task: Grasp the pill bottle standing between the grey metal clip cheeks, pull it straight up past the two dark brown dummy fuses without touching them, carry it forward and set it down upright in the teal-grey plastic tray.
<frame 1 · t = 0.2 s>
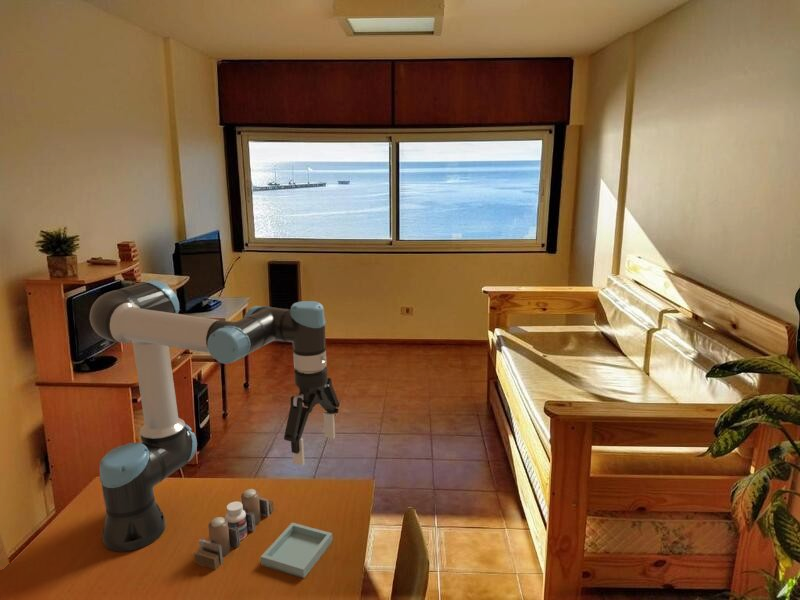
hand: (314, 449, 139), 27 cm above the table, fingers open, 13 cm apart
clip rail: (237, 535, 151), on the table
pill bottle: (237, 536, 151), on the table
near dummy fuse: (221, 551, 145), on the table
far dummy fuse: (252, 520, 157), on the table
tray: (298, 553, 144), on the table
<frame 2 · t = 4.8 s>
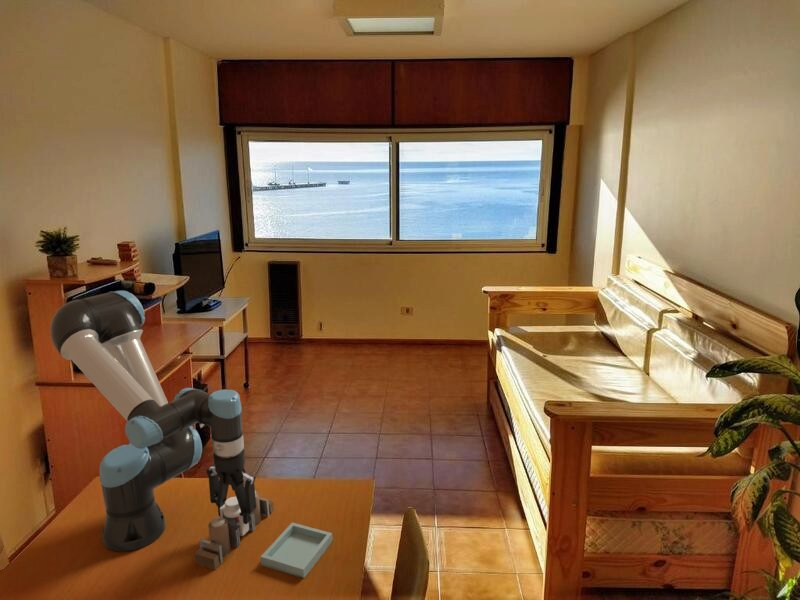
hand: (235, 529, 151), 2 cm above the table, fingers closed on pill bottle, 5 cm apart
pill bottle: (235, 531, 151), point 1 cm above the table, touching gripper
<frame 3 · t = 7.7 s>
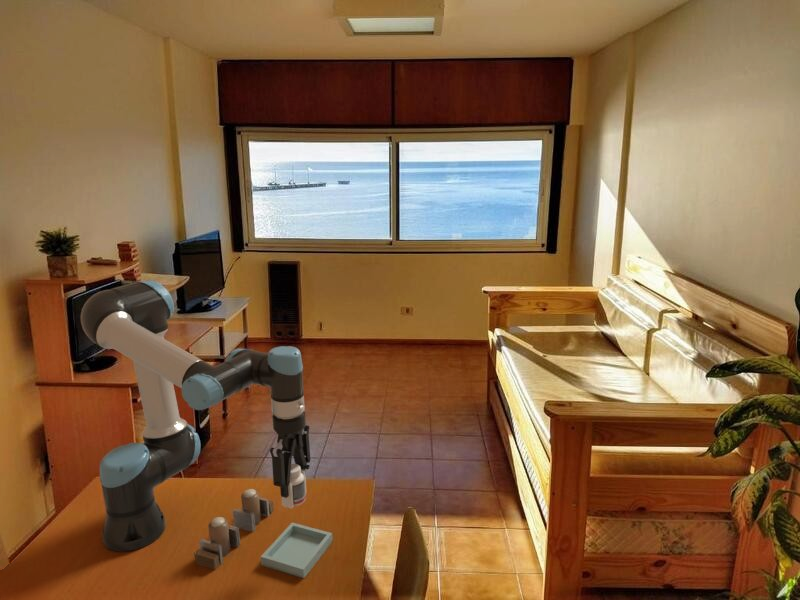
hand: (294, 499, 140), 15 cm above the table, fingers closed on pill bottle, 5 cm apart
pill bottle: (294, 501, 140), point 15 cm above the table, touching gripper
when the fingers open (2 cm above the table, at t = 10.6 s): pill bottle drops 1 cm, resting on tray.
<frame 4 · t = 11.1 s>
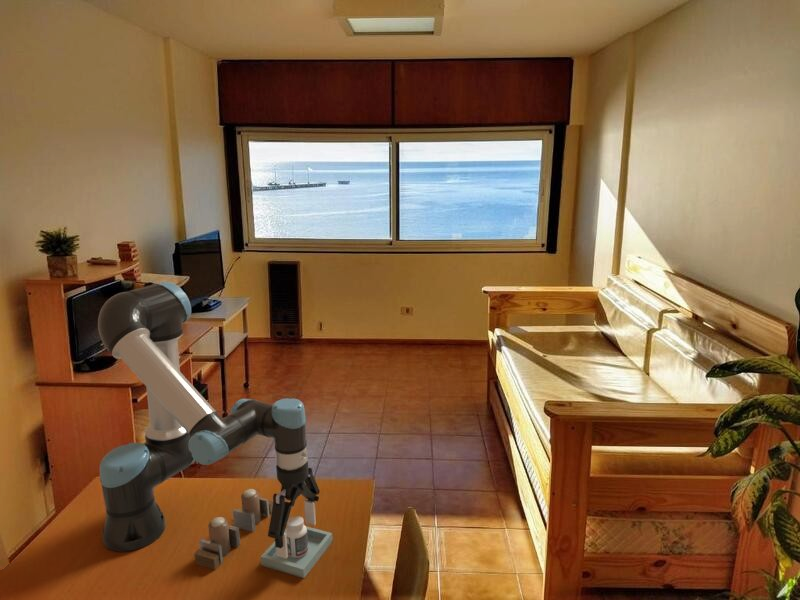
hand: (297, 539, 143), 4 cm above the table, fingers open, 12 cm apart
pill bottle: (297, 552, 144), resting on tray
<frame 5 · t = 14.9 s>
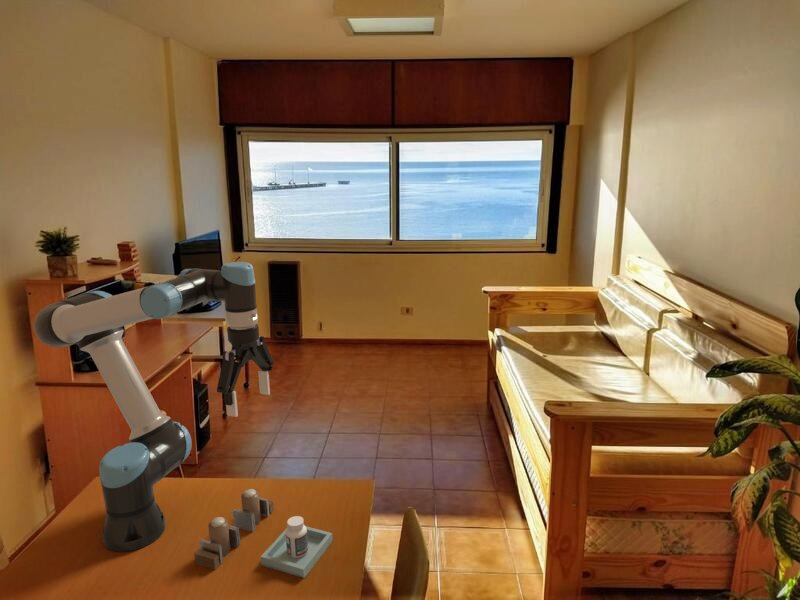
hand: (249, 404, 148), 35 cm above the table, fingers open, 13 cm apart
nothing on the table moved.
at the end: pill bottle inside the target area on the tray (0.1 cm from its centre), point 0.3 cm above the tray's base; pill bottle tilted 0°; the gripper is holding nothing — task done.
